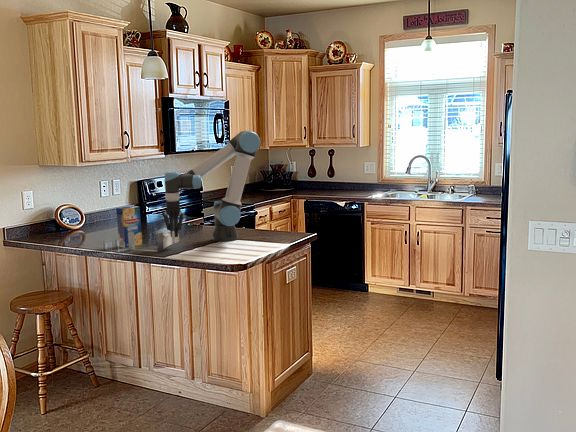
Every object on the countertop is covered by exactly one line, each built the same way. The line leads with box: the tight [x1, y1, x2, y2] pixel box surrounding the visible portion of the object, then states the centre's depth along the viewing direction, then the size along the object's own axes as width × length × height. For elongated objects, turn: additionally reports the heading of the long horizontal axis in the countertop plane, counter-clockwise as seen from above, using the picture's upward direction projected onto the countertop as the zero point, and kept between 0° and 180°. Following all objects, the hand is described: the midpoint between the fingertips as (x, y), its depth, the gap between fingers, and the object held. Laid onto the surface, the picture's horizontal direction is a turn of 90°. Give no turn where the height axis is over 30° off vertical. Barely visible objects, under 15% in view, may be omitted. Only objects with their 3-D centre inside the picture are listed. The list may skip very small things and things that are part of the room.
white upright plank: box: [163, 230, 174, 250], centre depth 322 cm, size 15×2×7 cm, turn 174°
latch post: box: [128, 232, 136, 252], centre depth 319 cm, size 2×3×10 cm, turn 159°
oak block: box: [163, 232, 180, 243], centre depth 338 cm, size 8×8×5 cm
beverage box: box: [115, 205, 143, 249], centre depth 330 cm, size 7×11×22 cm, turn 138°
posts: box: [133, 232, 165, 253], centre depth 315 cm, size 19×3×10 cm, turn 69°
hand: (174, 242), depth 322 cm, fingers closed
